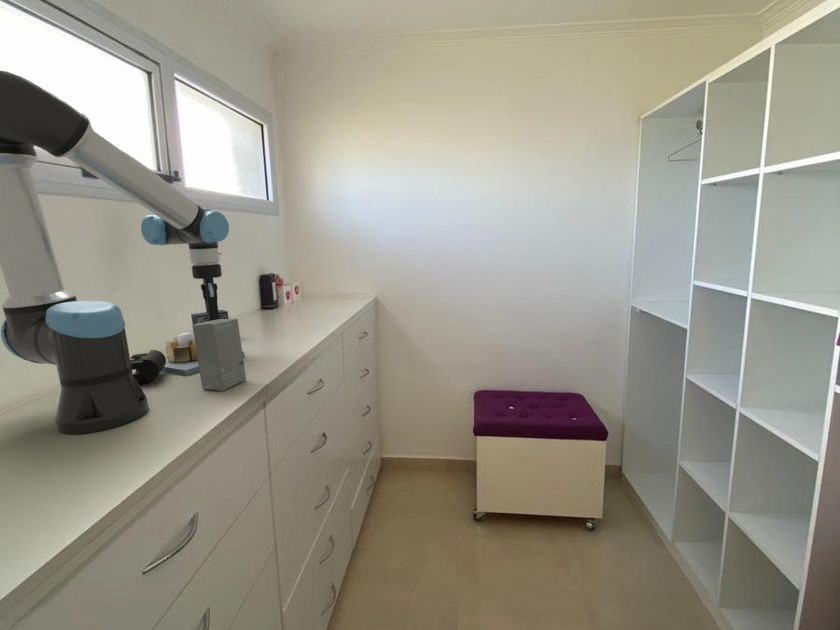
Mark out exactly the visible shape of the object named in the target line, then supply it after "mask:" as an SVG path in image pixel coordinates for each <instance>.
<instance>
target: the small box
mask: <svg viewBox="0 0 840 630" xmlns="http://www.w3.org/2000/svg"><path fill="white" fill-rule="evenodd" d="M228 311H229V310H228ZM228 311H227V310H225V309H220V310H219V309H218V314H219V319H230V317H229V312H228ZM190 316H191V320H192V321H191V322H192V325H193V324H198V323H202V322H206V321H208V319H207V312H206V311H205V312H198V313H191V315H190Z"/></svg>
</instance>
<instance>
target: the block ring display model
mask: <svg viewBox="0 0 840 630" xmlns="http://www.w3.org/2000/svg"><path fill="white" fill-rule="evenodd" d="M176 337H178V343H179V346H187V345H190V344H189V340H192V339H194V332H182V333H179V334H177V336H176ZM242 354H243V357H245V351H243V350H242ZM165 358H166V364H165V366H164V368H163V369H162V371H161V372H160V373H167V374H173V375H179V376H187V377H188V376H190V375H193V374H196V373H200V370H199V364H198V359H196V360H190V361H184V362H171V361H168V359H167V356H165Z"/></svg>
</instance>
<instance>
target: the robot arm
mask: <svg viewBox="0 0 840 630" xmlns="http://www.w3.org/2000/svg"><path fill="white" fill-rule="evenodd" d="M35 147H37V148H40V149H41V150H43V151H45V152H47V153H49V154H50V155H52V156H53V157H55V158H57V159H58V158H67V159H68V160H69V161H72V163H74V164H76V165H77V166H79V167H81V168H82V169H84V170H85V171H87V172H89V174H91V175H93V176H95V177H96V178H98V179H99V180H101V181H102V182H104V183H106V184H107V185H109V186H111V188H113V189H115V190H117V191H118V192H120V193H121V194H123V195H124V196H126V197H127V198H129V199H130V200H132V201H133V202H136V204H138V205H140V206H142V207H143V208H144V209H146V210H148V211H149V212H151V213H153V214H151V215H150V214H149V215H146V216H145V217H144V218H142V221H141V224H140V229H141V235H142V237H143V239H144V240H145V242H147V244H149V245H151V246H152V245H153V246H166V245H169V246H170V245H185V244H188V253H189V260H190V264H193V265H192V266H191V272H192V273H191V274H192V278H193V279H195V280H196V279H197V280H202V283H203V284H200V288H201V289H200V290H201V291H202V292H201V293H202V297H203V299H204V304H205V312H207V319H208V321H212V320H217V319H219V314H218V310H219V306H218V284H217V283H216V282H215V281H214V279H216V278H220V277H222V276H223V273H222V272H223V271H222V267H221V266H222V265H221V264H220V263H219V262H220V261H221V260H220V258H221V257H220V256H219V255H222V251H220V250H219V242H223V241H224V240H225V239H226V238H227V237H228V234H229V232H230V231H229V230H230V225H229V221H228V219H227V217H226V216H225V214H223V213H222V212H219V211H216V210H213V209H212V208H209V207H202V206H200V205H199V204H198V203H196V202H194V201H193V200H192V199H190V198H189V197H188V196H187V195H185V194H183V192H181V191H180V190H178V189H177V188H176V187H174V186H173V185H171V184H170V183H169V182H168V181H166V180H165V179H164V178H162V177H161V176H159V175H158V174H156V172H154V171H152V170H151V169H150V168H149V167H147V166H145V164H144V163H142V162H140V161H139V160H138V159H136V158H135V157H134V156H132V155H131V154H129V152H127V151H125V149H123V148H122V147H120V145H119V146H118V145H117V144H116V143H115V142H113V140H111V139H110V138H108V137H107V136H105V135H104V134H103V133H101V132H100V131H98V130H97V129H96V128H95V127H93V126H92V121H91V119H90V117H89V116H87V115H86V114H85V113H84V112H83V111H81V110H79V109H78V108H77V107H75V106H74V105H72V104H71V103H70V102H68V101H67V100H66V99H64V98H63V97H61V96H59V95H58V94H57V93H55V92H53V91H51V90H50V89H48V88H47V87H45V86H43V85H41V84H40V83H38V82H36V81H33V80H32V79H31V78H30V79H29V78H27V77H25V76H23V75H21V74H17V73H15V72H10V71H5V70H0V269H1V273H2V276H3V279H4V282H5V285H6V289H7V292H8V298H6V300H4V302H3V303H2V305H1V306H2V310H3V314H4V317H5V320H4V321H3V322H2V325H1V328H0V338H1V341H2V343H3V345H4V347H5V348H6V349H7V350H8V352H10V353H11V354H12V355H14V356H16V357H18V358H19V359H22V360H25V361H28V362H30V363H33V364H34V363H35V364H41V365H44V364H47V365H54V366H56V370H57V374H58V375H57V376H58V378H59V379H58V380H59V383H60V384H59V385H60V395H59V399H58V405H57V409H56V413H55V414H56V415H55V424H56V428H57V431H58V432H59V433H63V434H69V435H74V434H75V435H78V434H89V433H93V432H100V431H104V430H108V429H112V428H116V427H119V426H122V425H125V424H127V423H130V422H132V421H134V420H137V419H139V418H140V417H142V416H144V415H145V414H146V413H148V411H149V402H148V397H147V395H146V394H145V392H144V391H143V389H142V387H141V386H139V384H138V382H137V381H136V379H135V377H134V376H133V374H134V372H133V370H132V367H131V361H130V360H131V356H130V351H129V344H128V339H127V333H126V323H125V319H124V316H123V313H122V310H121V308H120V306H118V305H117V304H115V303H113V302H109V301H105V300H104V301H103V300H78V299H77V295H76V294H75V293H74V292H72V291H70V290H69V289H66V288H65V285H64V283H63V279H62V277H61V272H60V269H59V266H58V261H57V259H56V255H55V251H54V246H53V244H52V241H51V236H50V233H49V229H48V226H47V223H46V220H45V219H46V218H45V216H44V212H43V207H42V205H41V201H40V198H39V194H38V191H37V187H36V184H35V181H34V180H35V179H34V176H33V173H32V169H31V168H32V166H33V165H34V164H35V163H36V162H37V161H38V160H39V158H38V155H37V151H36V148H35Z"/></svg>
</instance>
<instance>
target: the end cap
mask: <svg viewBox="0 0 840 630" xmlns="http://www.w3.org/2000/svg"><path fill="white" fill-rule="evenodd" d="M165 357H166V356H165V354H164V353H163V352H162V351H160V350H156V349H151V350H150V351H149V352H145V353H139V354H136V353H135V354H132V356H130V361H131V367H132V371H133V370H135V372H133V376H134V377H135V379H136V381H137V382H138V384H139V386H140V387H141V386H147V385H150V384H152V383H153V382H154V381H155V380H156V379H157V378H158V376H159V375H160V373H162V372H161V371H162V369H163V368H164V366H165V364H166V358H165Z"/></svg>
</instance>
